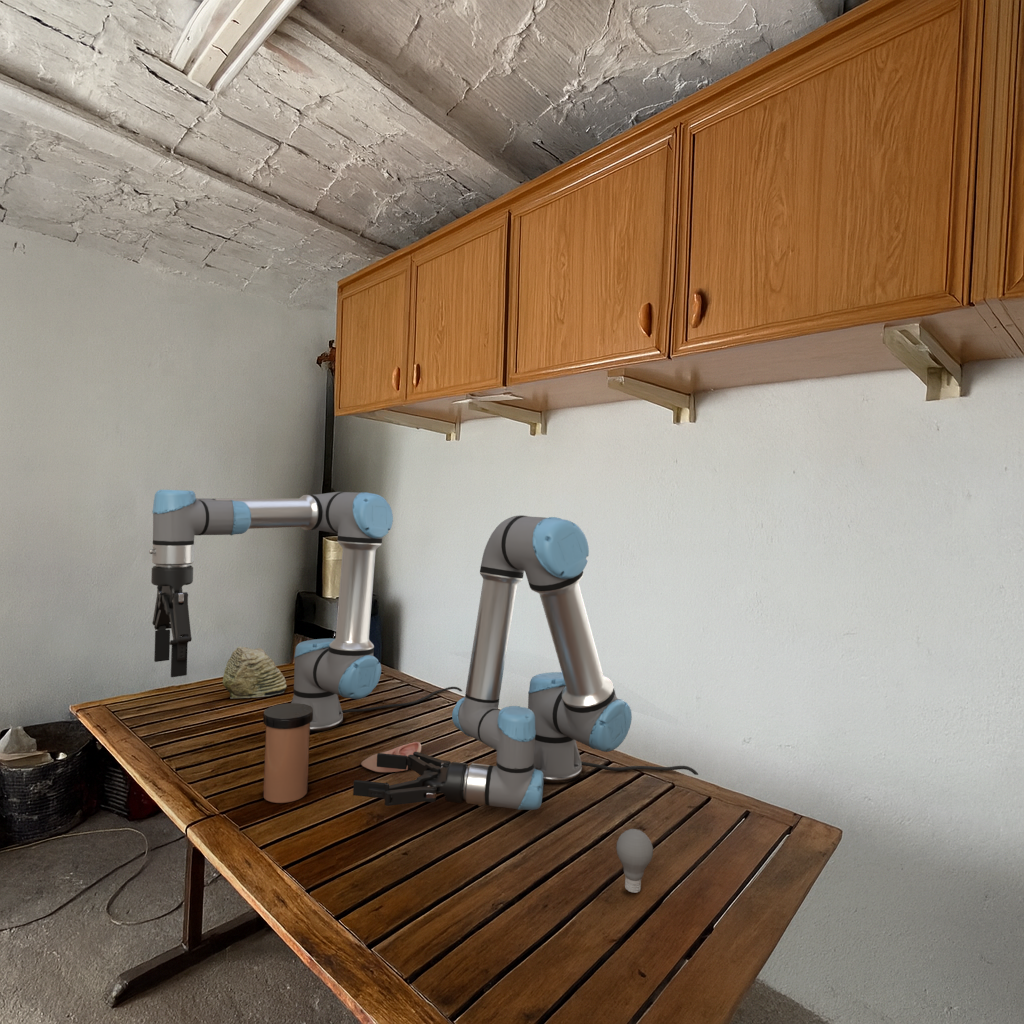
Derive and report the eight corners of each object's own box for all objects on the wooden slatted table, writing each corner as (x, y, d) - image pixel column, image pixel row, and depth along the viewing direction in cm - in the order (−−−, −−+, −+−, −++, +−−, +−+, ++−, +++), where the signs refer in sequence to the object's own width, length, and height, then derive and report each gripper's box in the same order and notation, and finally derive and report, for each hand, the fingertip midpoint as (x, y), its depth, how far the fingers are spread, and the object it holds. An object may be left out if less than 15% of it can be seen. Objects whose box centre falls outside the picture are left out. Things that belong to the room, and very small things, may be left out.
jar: (304, 781, 141) (307, 704, 140) (310, 798, 133) (313, 717, 132) (261, 787, 137) (264, 708, 136) (264, 806, 129) (268, 722, 129)
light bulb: (610, 879, 108) (613, 822, 108) (644, 879, 109) (647, 822, 109) (619, 902, 102) (622, 840, 102) (655, 901, 103) (658, 840, 103)
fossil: (218, 695, 195) (220, 647, 195) (278, 685, 208) (279, 640, 207) (228, 703, 189) (230, 653, 188) (289, 692, 201) (290, 645, 201)
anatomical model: (355, 752, 147) (376, 734, 159) (355, 769, 147) (375, 750, 159) (409, 759, 145) (426, 741, 156) (409, 776, 145) (425, 757, 156)
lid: (309, 710, 141) (309, 701, 141) (316, 725, 132) (316, 715, 132) (261, 715, 137) (262, 705, 137) (265, 731, 128) (265, 721, 128)
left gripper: (138, 559, 136) (136, 657, 137) (167, 573, 118) (164, 686, 118) (176, 558, 141) (174, 652, 142) (210, 571, 123) (207, 679, 123)
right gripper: (452, 833, 116) (342, 820, 119) (477, 775, 141) (385, 766, 144) (454, 792, 116) (343, 781, 119) (478, 741, 141) (386, 733, 144)
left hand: (169, 668), depth 130 cm, fingers open, 13 cm apart
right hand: (366, 772), depth 131 cm, fingers open, 13 cm apart
